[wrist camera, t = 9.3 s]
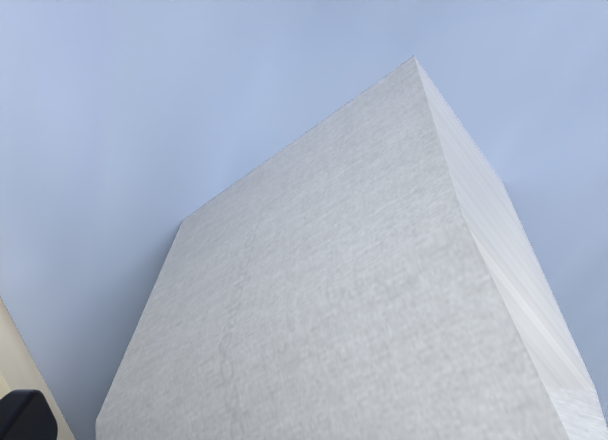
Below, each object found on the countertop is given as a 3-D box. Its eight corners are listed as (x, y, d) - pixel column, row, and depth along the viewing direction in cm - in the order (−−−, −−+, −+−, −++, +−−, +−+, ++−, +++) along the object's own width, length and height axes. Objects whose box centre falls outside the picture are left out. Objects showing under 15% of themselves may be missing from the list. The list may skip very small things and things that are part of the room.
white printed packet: (182, 220, 14) (-49, 753, 6) (413, 55, 12) (579, 603, 3) (278, 309, 16) (199, 837, 7) (502, 181, 13) (771, 780, 5)
